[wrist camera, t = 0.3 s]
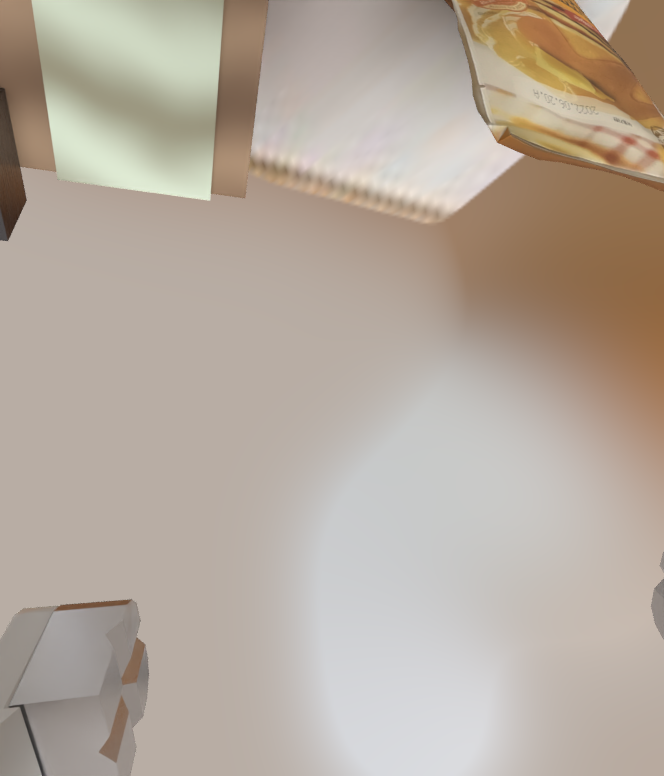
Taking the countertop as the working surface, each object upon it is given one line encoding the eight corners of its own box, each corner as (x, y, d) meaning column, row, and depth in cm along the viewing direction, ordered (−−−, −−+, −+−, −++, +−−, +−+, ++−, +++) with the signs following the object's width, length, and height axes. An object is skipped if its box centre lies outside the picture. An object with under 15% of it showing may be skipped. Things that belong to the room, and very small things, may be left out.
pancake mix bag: (552, 83, 55) (711, 244, 37) (386, -3, 48) (483, 145, 30) (600, 10, 51) (809, 152, 33) (426, -97, 44) (569, 9, 25)
